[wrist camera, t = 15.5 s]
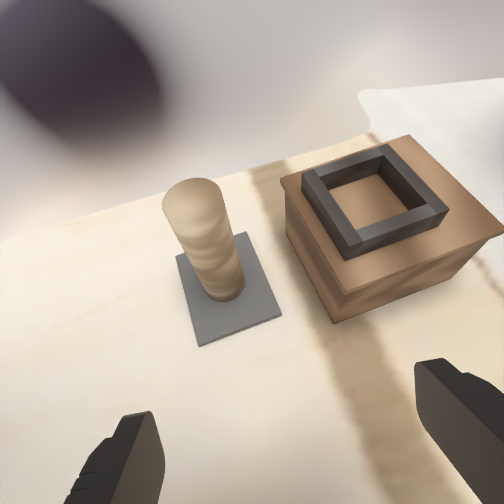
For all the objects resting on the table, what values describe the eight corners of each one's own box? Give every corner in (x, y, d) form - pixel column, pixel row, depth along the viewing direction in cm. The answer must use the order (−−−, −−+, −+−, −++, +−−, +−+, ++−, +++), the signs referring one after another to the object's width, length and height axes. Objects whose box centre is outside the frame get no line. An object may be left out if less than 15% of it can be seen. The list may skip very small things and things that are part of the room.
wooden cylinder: (215, 309, 29) (174, 233, 19) (198, 277, 31) (154, 193, 21) (252, 288, 30) (232, 205, 20) (233, 259, 32) (206, 169, 22)
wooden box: (332, 328, 27) (350, 277, 19) (282, 231, 34) (279, 160, 25) (456, 279, 29) (525, 211, 20) (386, 194, 35) (416, 114, 26)
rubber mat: (199, 346, 28) (197, 344, 27) (177, 259, 33) (175, 256, 33) (281, 315, 29) (281, 313, 28) (246, 234, 34) (246, 231, 33)
